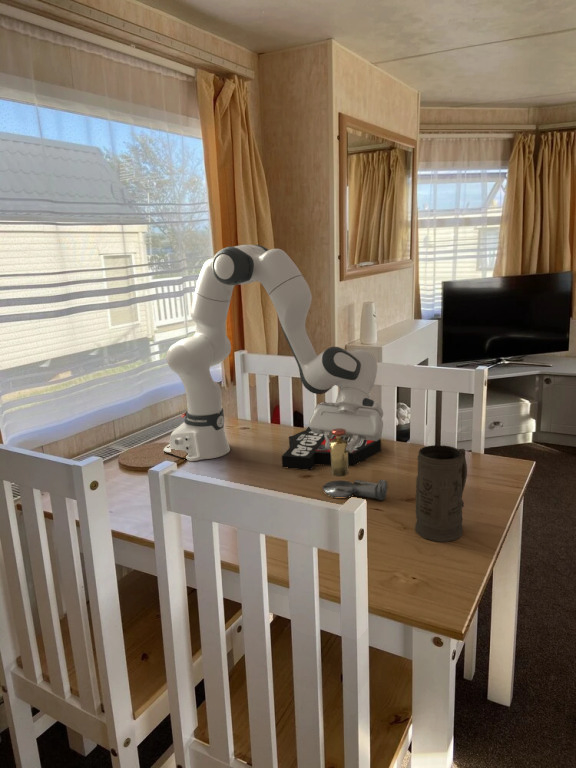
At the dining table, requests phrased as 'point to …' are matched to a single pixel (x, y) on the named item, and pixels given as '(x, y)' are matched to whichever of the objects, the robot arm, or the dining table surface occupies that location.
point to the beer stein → (440, 492)
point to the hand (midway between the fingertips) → (338, 450)
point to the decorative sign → (322, 450)
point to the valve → (339, 454)
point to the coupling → (356, 489)
